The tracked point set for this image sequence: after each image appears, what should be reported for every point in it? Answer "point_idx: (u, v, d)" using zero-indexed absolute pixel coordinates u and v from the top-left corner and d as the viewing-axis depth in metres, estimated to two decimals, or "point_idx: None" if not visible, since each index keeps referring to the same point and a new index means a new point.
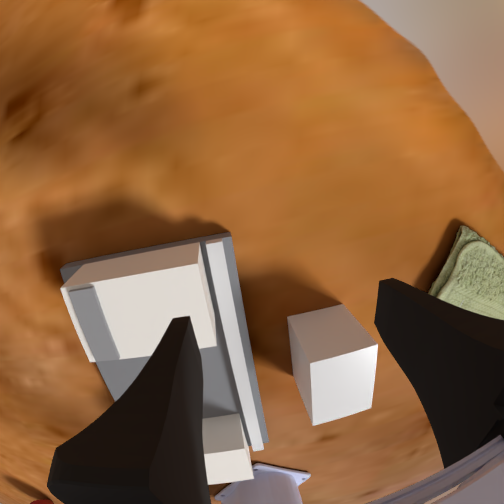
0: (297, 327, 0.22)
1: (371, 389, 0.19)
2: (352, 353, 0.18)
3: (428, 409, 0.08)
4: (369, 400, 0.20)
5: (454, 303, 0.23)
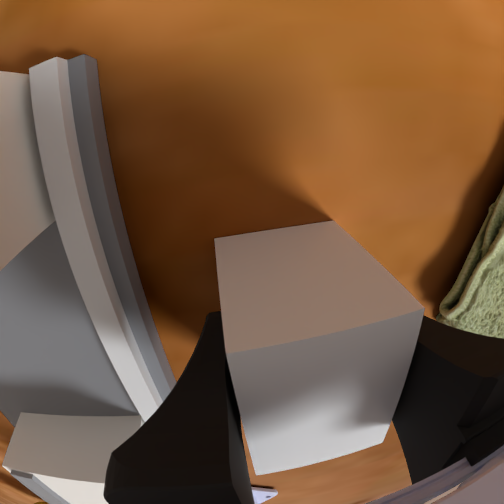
0: (227, 259, 0.10)
1: (390, 412, 0.08)
2: (356, 330, 0.06)
3: (396, 422, 0.08)
4: (382, 431, 0.09)
5: None
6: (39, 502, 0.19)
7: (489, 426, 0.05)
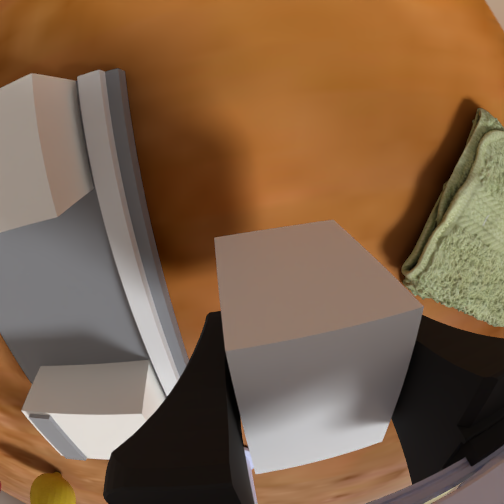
0: (226, 257, 0.10)
1: (389, 411, 0.08)
2: (355, 328, 0.06)
3: (396, 422, 0.08)
4: (381, 430, 0.09)
5: (476, 217, 0.15)
6: None
7: (490, 426, 0.05)
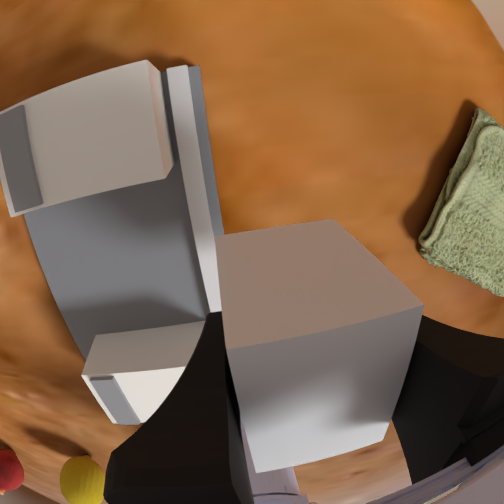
0: (227, 256, 0.10)
1: (390, 409, 0.08)
2: (356, 326, 0.06)
3: (396, 422, 0.08)
4: (382, 428, 0.09)
5: (477, 196, 0.18)
6: None
7: (489, 426, 0.05)
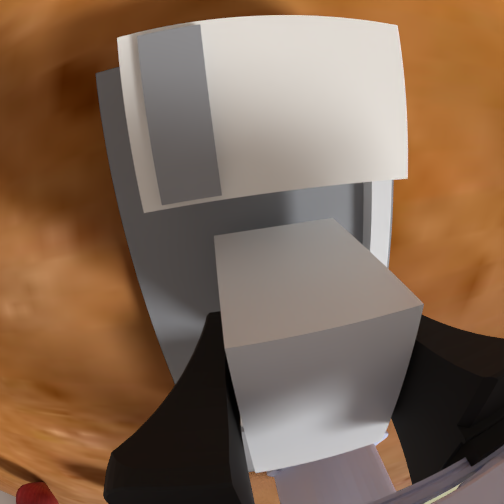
0: (226, 255, 0.10)
1: (389, 409, 0.08)
2: (355, 325, 0.06)
3: (396, 422, 0.08)
4: (381, 428, 0.09)
5: None
6: None
7: (490, 426, 0.05)
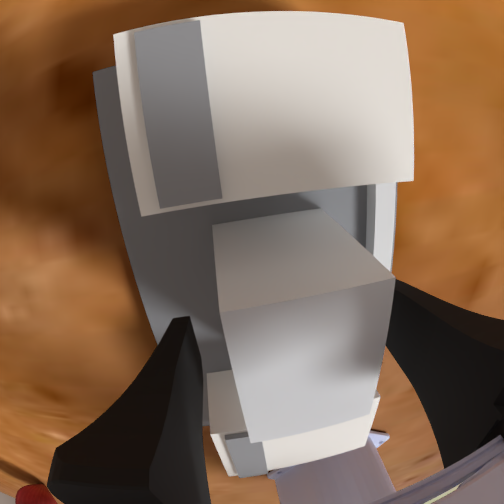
0: (223, 240, 0.11)
1: (373, 380, 0.09)
2: (333, 294, 0.07)
3: (428, 409, 0.08)
4: (367, 401, 0.10)
5: None
6: None
7: None
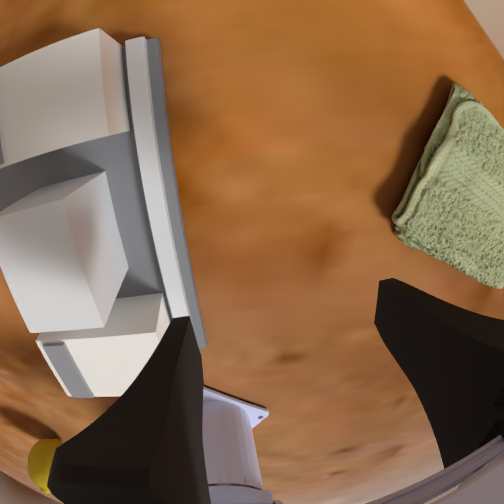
0: (31, 194, 0.14)
1: (86, 289, 0.12)
2: (28, 210, 0.10)
3: (428, 409, 0.08)
4: (93, 310, 0.13)
5: (455, 173, 0.18)
6: (44, 439, 0.25)
7: None
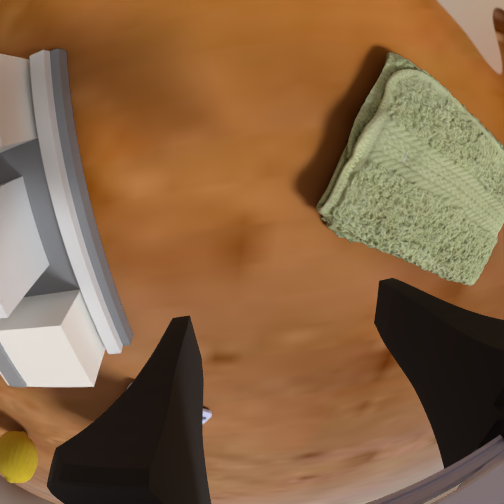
0: None
1: None
2: None
3: (428, 409, 0.08)
4: None
5: (392, 152, 0.17)
6: (11, 431, 0.24)
7: None
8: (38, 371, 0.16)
